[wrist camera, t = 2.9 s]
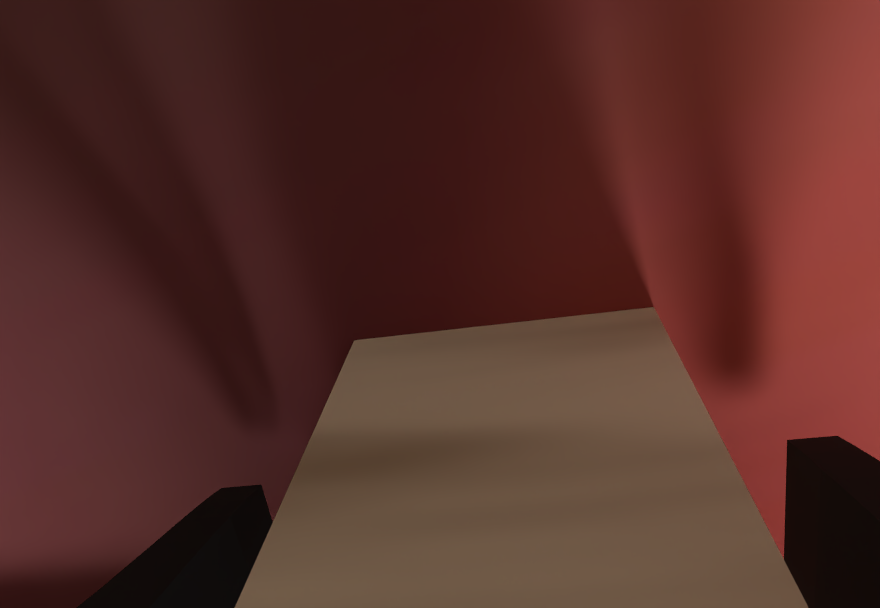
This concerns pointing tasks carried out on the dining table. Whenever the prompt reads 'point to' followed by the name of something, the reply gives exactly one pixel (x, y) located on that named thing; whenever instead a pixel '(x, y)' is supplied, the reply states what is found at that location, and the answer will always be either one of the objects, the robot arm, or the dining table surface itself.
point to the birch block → (519, 480)
